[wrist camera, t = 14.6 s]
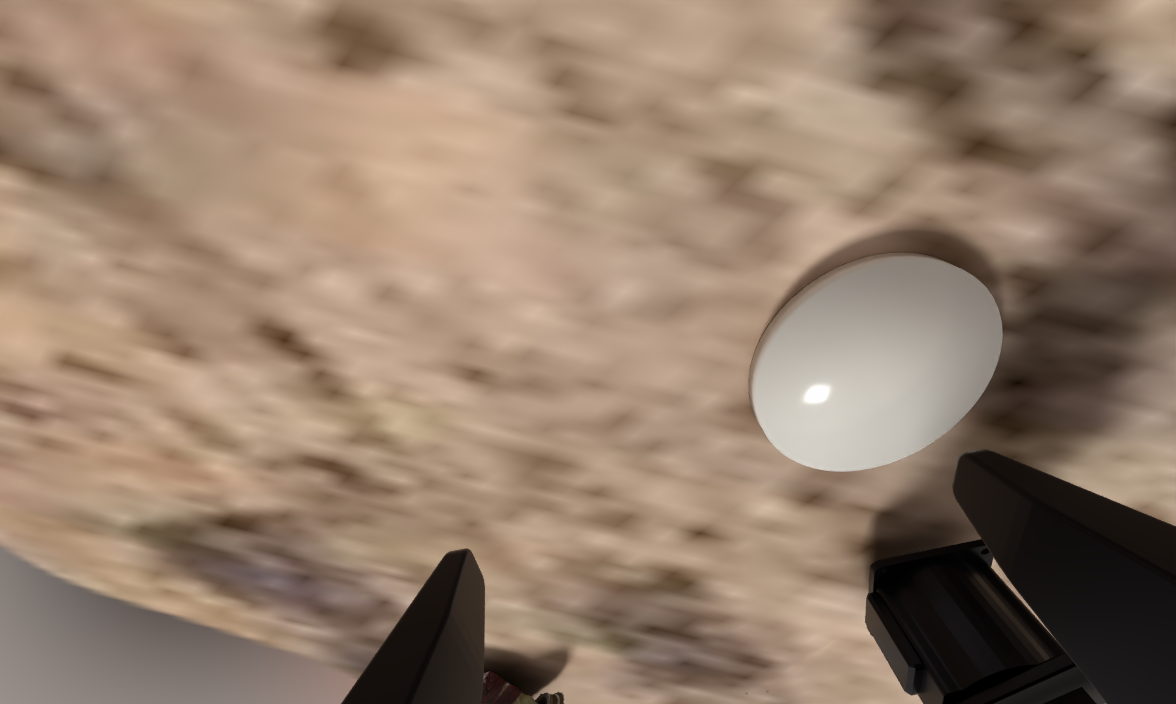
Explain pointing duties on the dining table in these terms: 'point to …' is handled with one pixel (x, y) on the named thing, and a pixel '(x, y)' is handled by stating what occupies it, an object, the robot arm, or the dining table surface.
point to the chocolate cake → (512, 693)
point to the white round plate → (874, 361)
